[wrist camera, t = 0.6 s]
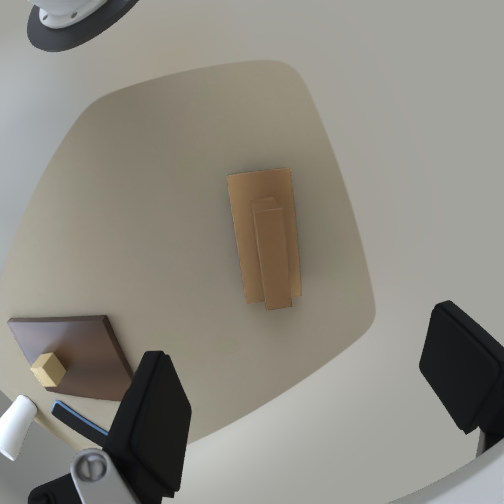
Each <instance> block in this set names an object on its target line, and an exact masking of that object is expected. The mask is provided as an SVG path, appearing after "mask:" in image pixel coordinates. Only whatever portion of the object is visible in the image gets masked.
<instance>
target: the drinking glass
mask: <svg viewBox="0 0 504 504" xmlns="http://www.w3.org/2000/svg"><path fill="white" fill-rule="evenodd" d="M36 413H37V407H36V406H35V404H34V403H33V402H32V401H31V400H30V399H29V398H27V397H26V396H24V395H19V396H18V397H17V398H16V400H15V401H14V402H13V404H12V405H11V406H10V407H9V409H8V410H7V411H6V412H5V413H4V415H3V416H2V417H1V418H0V452H1V453H2V454H4V455H5V456H6V457H8V458H9V459H11V460H13V461H15V459H16V458H17V456H18V454H19V452H20V450H21V448H22V445H23V443H24V440H25V438H26V435H27V433H28V430H29V428H30V426H31V423H32V421H33V419H34V417H35V415H36Z"/></svg>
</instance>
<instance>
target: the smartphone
mask: <svg viewBox="0 0 504 504" xmlns="http://www.w3.org/2000/svg"><path fill="white" fill-rule="evenodd" d="M51 413H52V415H53V416H55V417H56V418H57V419H59V420H60V421H62V422H63V423H64V424H66V425H67V426H69V427H70V428H72V429H73V430H75V431H76V432H78V433H79V434H81V435H83V436H84V437H86V438H87V439H89V440H91V441H92V442H94V443H96V444H98V445H99V446H101V447H103V446H104V443H105V441H106V438H107V435H108V433H107V432H105V431H104V430H102V429H100V428H99V427H97V426H95V425H94V424H92V423H91V422H89V421H88V420H86V419H84V418H83V417H81V416H80V415H79V414H77V413H76V412H74V411H73V410H71V409H70V408H68V407H67V406H66V405H64V404H63V403H62V402H60V401H56V402H55V404H54V406H53V408H52V410H51Z"/></svg>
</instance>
